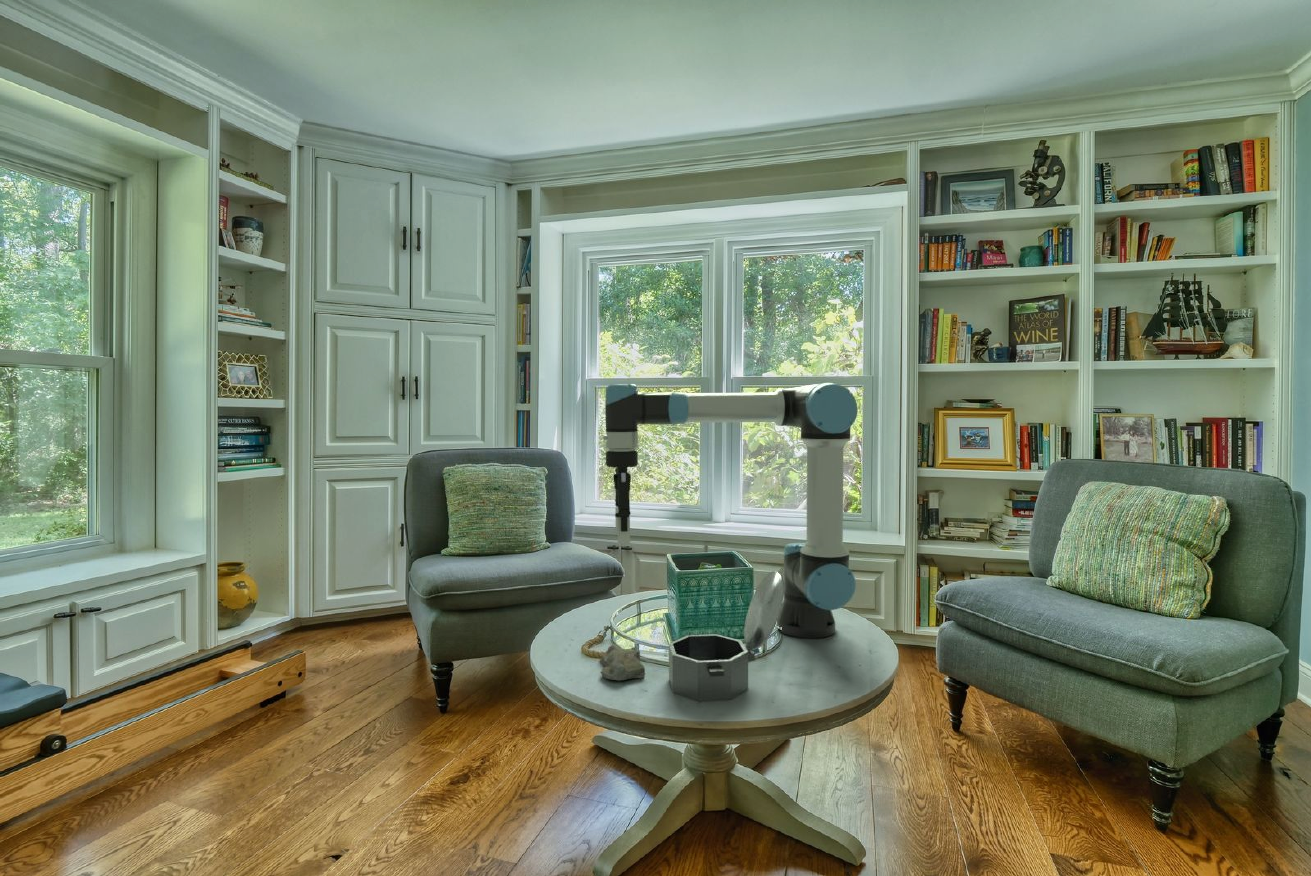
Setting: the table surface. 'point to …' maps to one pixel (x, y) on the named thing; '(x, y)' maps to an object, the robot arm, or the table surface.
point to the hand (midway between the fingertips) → (622, 539)
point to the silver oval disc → (764, 610)
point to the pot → (709, 667)
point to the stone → (621, 664)
